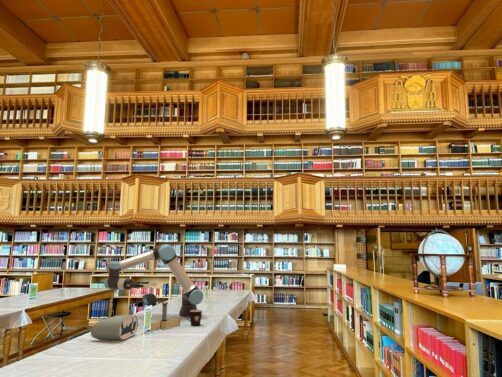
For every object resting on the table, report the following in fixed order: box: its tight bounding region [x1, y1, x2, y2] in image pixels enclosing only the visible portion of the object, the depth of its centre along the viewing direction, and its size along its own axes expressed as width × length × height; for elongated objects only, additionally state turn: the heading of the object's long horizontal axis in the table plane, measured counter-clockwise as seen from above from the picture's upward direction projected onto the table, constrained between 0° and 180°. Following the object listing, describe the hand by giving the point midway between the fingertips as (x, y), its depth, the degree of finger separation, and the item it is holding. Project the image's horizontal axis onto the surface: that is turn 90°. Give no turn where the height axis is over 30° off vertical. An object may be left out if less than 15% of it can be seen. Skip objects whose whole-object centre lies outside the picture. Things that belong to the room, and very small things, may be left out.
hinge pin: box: [161, 301, 169, 327], centre depth 259 cm, size 4×4×17 cm
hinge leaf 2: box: [159, 317, 181, 330], centre depth 262 cm, size 16×6×5 cm, turn 137°
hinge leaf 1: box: [150, 320, 169, 331], centre depth 254 cm, size 16×6×5 cm, turn 137°
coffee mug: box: [184, 309, 203, 327], centre depth 270 cm, size 12×9×10 cm
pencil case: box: [90, 314, 139, 341], centre depth 230 cm, size 22×19×13 cm
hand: (152, 285), depth 267 cm, fingers open, 13 cm apart
